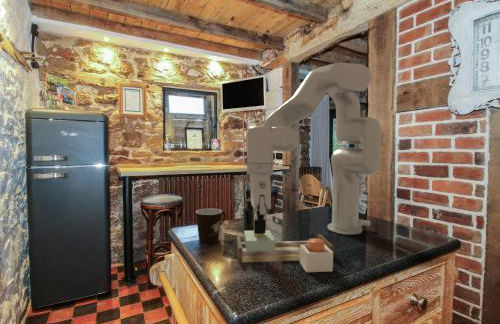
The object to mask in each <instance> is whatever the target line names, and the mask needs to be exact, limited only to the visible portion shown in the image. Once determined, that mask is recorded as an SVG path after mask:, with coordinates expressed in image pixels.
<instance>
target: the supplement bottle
mask: <svg viewBox="0 0 500 324" xmlns="http://www.w3.org/2000/svg"><path fill="white" fill-rule="evenodd" d="M244 203H245V206H244V207H243V208H242V231H243V233H244V231H254V229H253V216H254V215H253V206H252V204H251V198H248V199H247V198H246V199H245V201H244Z"/></svg>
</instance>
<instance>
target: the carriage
mask: <svg viewBox="0 0 500 324" xmlns="http://www.w3.org/2000/svg"><path fill="white" fill-rule="evenodd" d="M254 220H255V215H254ZM243 242H244V243H245V247H246V252H251V251H275V242H276V239H275V238H274V235H273V234H272V232H271V230H270V229H269V230H268V229H265V233H264V234H255V233H254V231H244V232H243Z"/></svg>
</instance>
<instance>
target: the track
mask: <svg viewBox="0 0 500 324" xmlns="http://www.w3.org/2000/svg"><path fill="white" fill-rule="evenodd" d="M317 239H321V240H323V241H324V244H325V245H326V246H327V247H328V248H329V249H330V250H331V251H332V252H333V253H334V245H333V244H332V243H331V242H329V240H328V239H327V238H326V237H325V236H323V234H317ZM304 244H308V240H293V241H292V240H291V241H289V240H287V241H283V240H282V241H275V251H251V252H246V247H245V243H244V241H243V242H242V239H241V236H240V235H237V236H236V255H237V261H238V263H254V262H255V263H260V262H262V263H265V262H266V263H267V262H270V263H271V262H293V261H295V262H297V261H298V262H300V245H304Z"/></svg>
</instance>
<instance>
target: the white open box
mask: <svg viewBox="0 0 500 324" xmlns="http://www.w3.org/2000/svg"><path fill="white" fill-rule="evenodd" d="M299 264H300V265H301V267H302V268H303V270H304V272H305V273H318V272H319V273H320V272H321V273H323V272H333V271H334V270H333V269H334V251H333V252H332V251H331V250H330V249H329V248H328V247H327V246H326V245H325V244H324V252H309V251H308V244H304V245H300V261H299Z"/></svg>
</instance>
